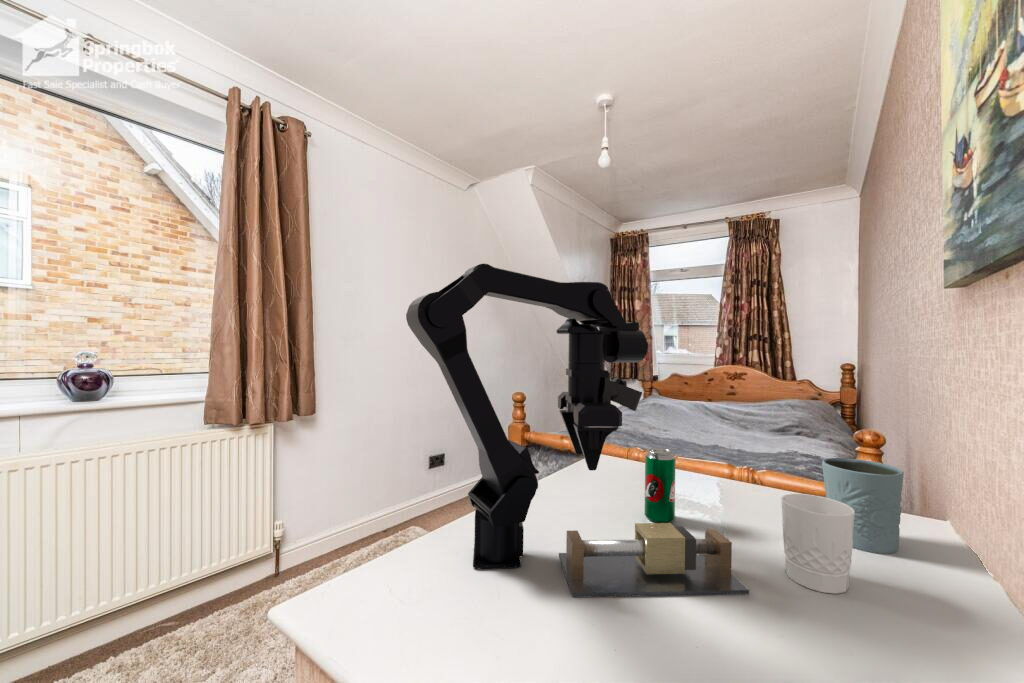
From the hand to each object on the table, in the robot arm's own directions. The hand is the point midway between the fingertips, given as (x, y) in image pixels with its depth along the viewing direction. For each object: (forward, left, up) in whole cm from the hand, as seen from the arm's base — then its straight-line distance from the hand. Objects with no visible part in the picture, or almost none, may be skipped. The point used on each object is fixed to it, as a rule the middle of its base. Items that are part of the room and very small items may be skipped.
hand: (585, 461), depth 68 cm
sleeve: (+8, -11, -11) cm, 17 cm away
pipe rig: (+6, -11, -12) cm, 17 cm away
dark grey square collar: (+11, -11, -10) cm, 19 cm away
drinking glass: (+44, -2, -12) cm, 46 cm away
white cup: (+28, -13, -12) cm, 33 cm away
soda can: (+15, +7, -12) cm, 21 cm away
